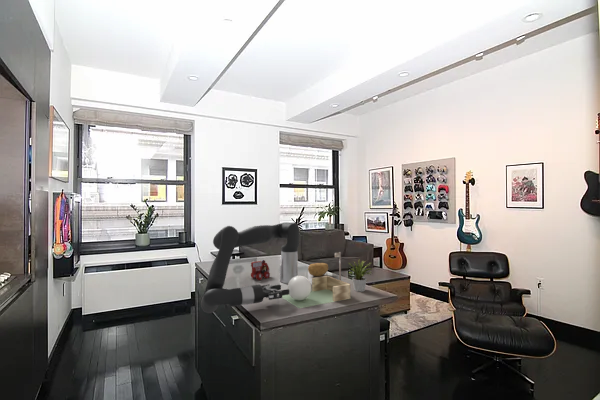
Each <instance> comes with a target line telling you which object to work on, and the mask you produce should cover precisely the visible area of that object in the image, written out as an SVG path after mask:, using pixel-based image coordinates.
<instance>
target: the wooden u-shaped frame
mask: <svg viewBox="0 0 600 400" xmlns="http://www.w3.org/2000/svg"><path fill="white" fill-rule="evenodd" d="M334 258H336V259H337V258H339V259H338V260H339V261H338V264H339V266H338V268H339V269H338V271H339V274H338V275H339V277H338V279H337V278H335V277H332V276H330V275H323V276H320V277H318V276H314V277H312V278H311V291H319V290H325V289H328V290H330V291H333V301H334V302H333V303H335V301H336V302H340V300H341V301H345V299H346V300H350V298H351V283H348V282H346V281H343V280H342V268H341V267H342V263H341V262H342V252H341V251H339V252H334Z"/></svg>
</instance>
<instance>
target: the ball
mask: <svg viewBox="0 0 600 400" xmlns="http://www.w3.org/2000/svg"><path fill="white" fill-rule="evenodd" d="M287 289H289V295H290V296H291V297H292V298H293V299H295V300H298V301H300V300H304V299H306V298H307V297H308V296H309V295H310V293H311V291H312V282H311V281H310V280H309V279H308V278H307V277H306V276H304V275H298V276H295V277H293V278H292V279H291V280H290V281H289V283H287Z"/></svg>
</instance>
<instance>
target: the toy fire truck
mask: <svg viewBox="0 0 600 400" xmlns="http://www.w3.org/2000/svg"><path fill="white" fill-rule="evenodd" d="M250 267H251V273H250V277H251V279H256V280H258V281H261V280H263V278H264V279H270V276H271V273H270V267H269V264H268V263H267V262H266V259H265V260H264V259H263V260H260V261H259V260H258V261H257V260H256V261H251V263H250Z"/></svg>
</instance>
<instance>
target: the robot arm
mask: <svg viewBox="0 0 600 400" xmlns="http://www.w3.org/2000/svg"><path fill="white" fill-rule="evenodd" d="M273 239H285V240H286V243H285V244H283V245H281V248H280V250H281V251H280V252H281V253H280V254H281V255H280V257H281V261H280V262H281V263H280V264H279V282H281V283H283V284H288V283H289V281H290V280H291V279H292V278H293V277H295V276H299V275H298V271H299V269H298V268H299V267H298V264H299V263H298V262H299V261H298V256H299V255H298V252H299V251H298V250H299V245H300V227H299V225H298V224H297V223H295V222H281V223H278V224H272V225H269V224H268V225H267V224H266V225H265V224H264V225H254V226H251V227H248V228H245V229H243V230H241V231H238V230H237V229H236V228H235V227H234V226H232V225H227V226H224V227H222V229H220V230H219V231H218V232H217V233H216V234H215V235H214V238H213V241H212V243H213V246H214V247H215V248H216V249H217V250H218V251H217V254H216V256H215V258H214V260H213V262H212V265H211V266H210V270H209V272H208V277H207V282H206V286H205V289H204V292H203V296H202V298H201V302H200V307H201V310H202V311H203V312H204V313H206V314H212V313H214V312H215V311H216V310H217V309H218V308H219V306H222V305H226V306H227V307H230V308H231V307H233V308H234V307H238V306H239V307H240V306H247V305H252V304H258V303H262V302H263V301H264V299H268V300H270V301H272V300H279V299H283V298H282V296H283V295H289V289H282V285H281V284H275V285H273V284H270V283H269V284H263V285H261V284H259V283H258V284H252V285H245V286H240V287H236V288H229V289H228V288H224V285H225V281H226V278H227V272H228V269H229V264H230V261H231V258H232V255H233V253H234V250H235V248H238V247H239V248H240V247H244V246H251V245H252V246H253V245H259V244H260V245H261V244H265V243H268V242H270V241H271V240H273Z"/></svg>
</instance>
